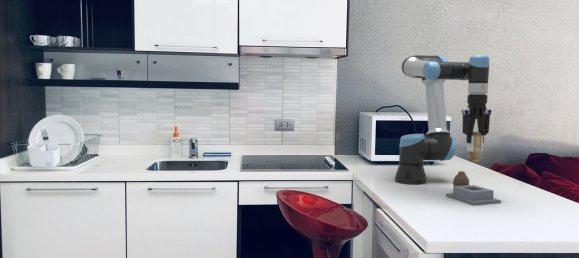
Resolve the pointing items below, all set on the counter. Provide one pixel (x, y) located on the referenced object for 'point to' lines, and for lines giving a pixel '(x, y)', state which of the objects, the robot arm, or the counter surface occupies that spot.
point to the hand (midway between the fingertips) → (474, 150)
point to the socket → (473, 195)
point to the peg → (475, 148)
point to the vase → (461, 179)
